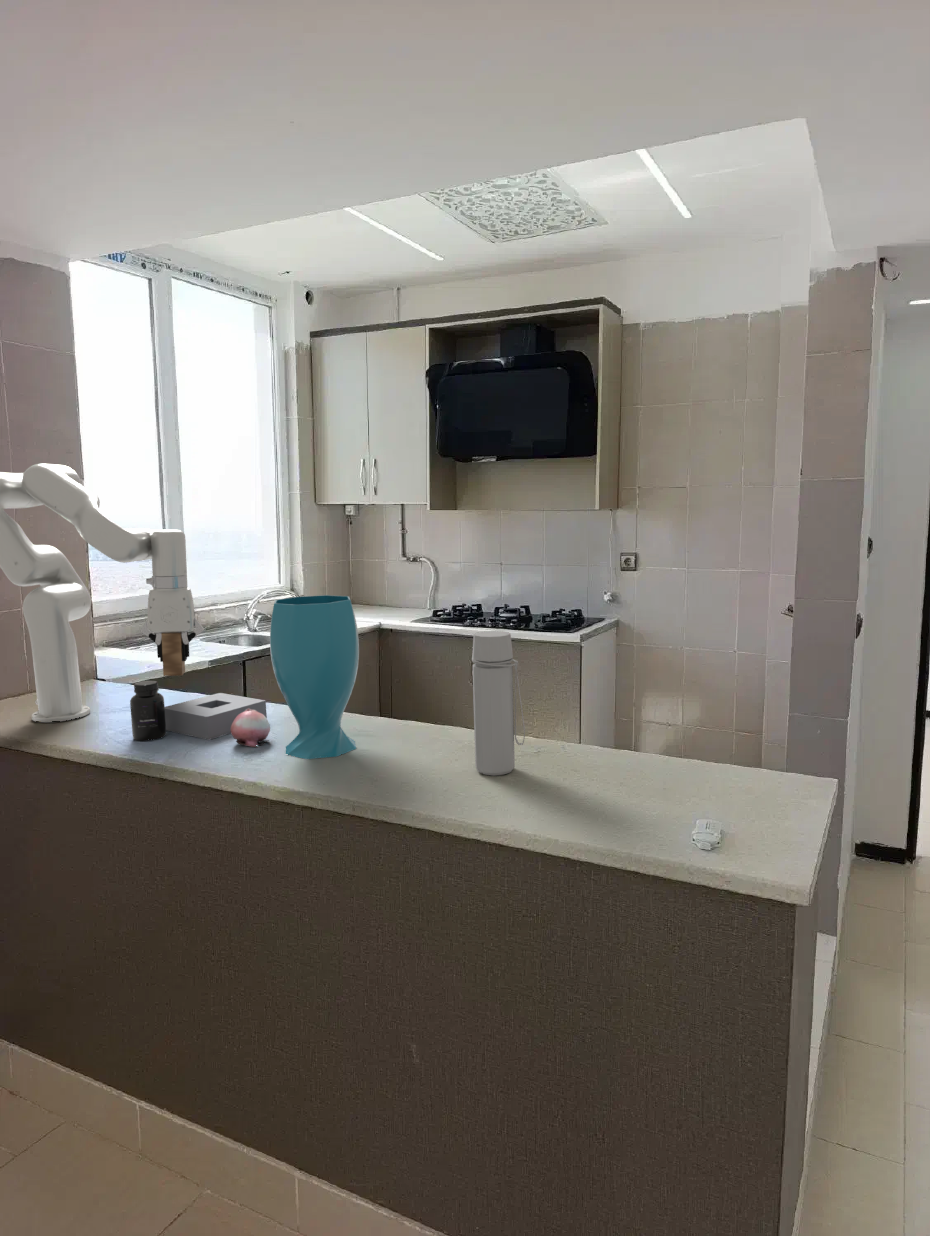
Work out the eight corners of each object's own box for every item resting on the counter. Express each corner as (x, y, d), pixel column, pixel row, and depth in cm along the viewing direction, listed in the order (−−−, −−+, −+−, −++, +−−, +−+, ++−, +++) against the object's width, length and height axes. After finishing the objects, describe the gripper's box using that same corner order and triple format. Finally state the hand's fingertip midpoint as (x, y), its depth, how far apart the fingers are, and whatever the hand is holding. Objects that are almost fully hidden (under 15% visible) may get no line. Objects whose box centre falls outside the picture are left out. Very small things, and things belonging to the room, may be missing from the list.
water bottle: (472, 777, 142) (467, 637, 138) (477, 763, 149) (473, 630, 146) (524, 778, 140) (521, 637, 137) (527, 764, 148) (524, 630, 145)
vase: (381, 742, 164) (374, 596, 160) (321, 766, 150) (312, 607, 146) (320, 731, 174) (312, 593, 170) (258, 752, 160) (248, 603, 156)
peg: (163, 675, 187) (161, 633, 186) (166, 672, 191) (164, 630, 190) (182, 675, 188) (180, 633, 187) (185, 671, 192) (183, 630, 191)
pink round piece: (257, 740, 172) (267, 708, 172) (271, 752, 165) (281, 719, 165) (222, 735, 167) (231, 703, 167) (234, 748, 161) (244, 713, 161)
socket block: (162, 729, 179) (160, 707, 178) (221, 713, 192) (219, 692, 191) (208, 739, 170) (207, 716, 169) (267, 721, 183) (265, 700, 182)
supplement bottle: (144, 743, 169) (139, 687, 167) (126, 738, 173) (121, 684, 171) (173, 735, 174) (168, 681, 172) (155, 731, 178) (151, 678, 176)
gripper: (128, 585, 181) (132, 664, 184) (205, 584, 184) (208, 662, 187) (135, 581, 189) (139, 658, 191) (209, 581, 192) (212, 656, 194)
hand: (173, 659), depth 189 cm, fingers closed on peg, 4 cm apart
